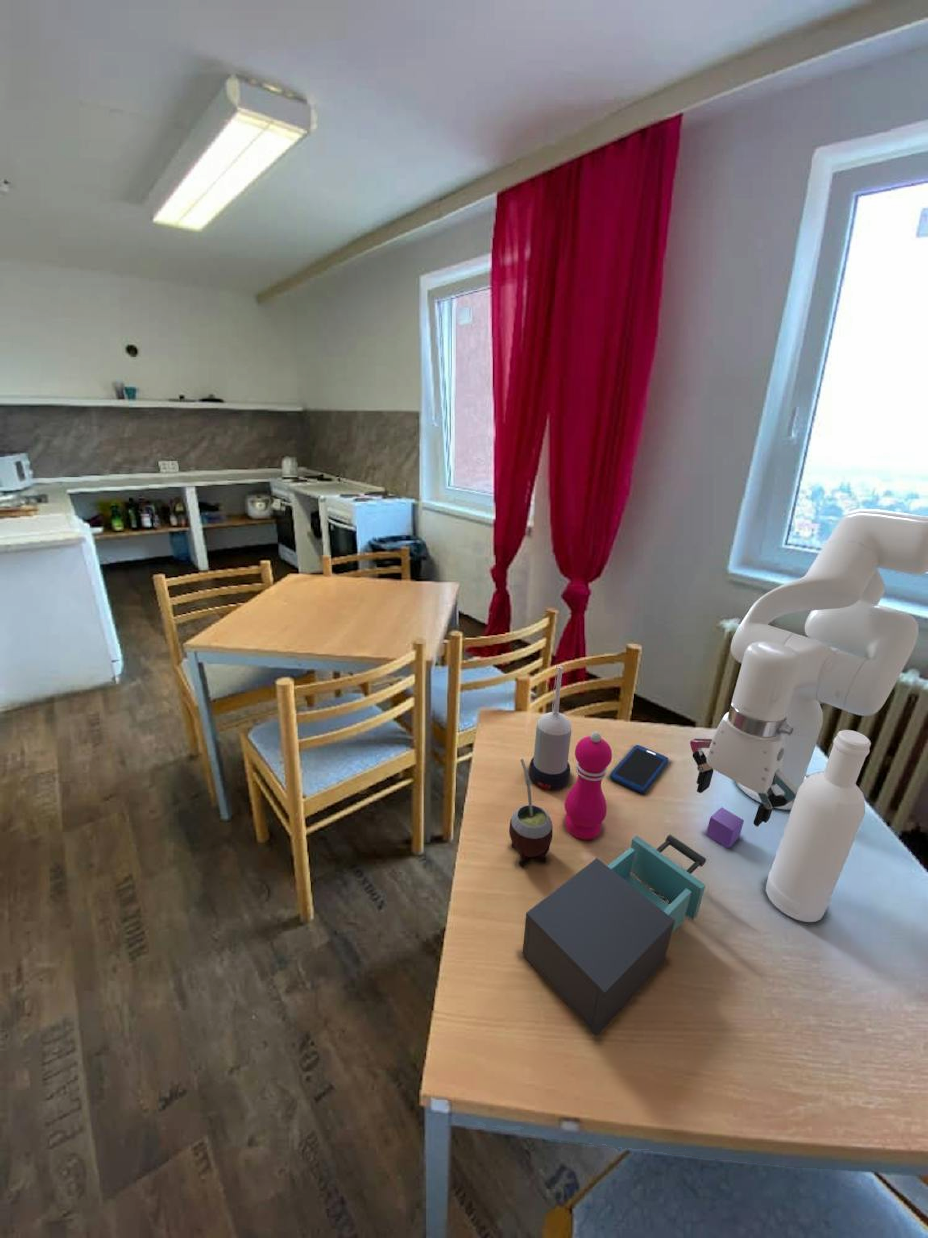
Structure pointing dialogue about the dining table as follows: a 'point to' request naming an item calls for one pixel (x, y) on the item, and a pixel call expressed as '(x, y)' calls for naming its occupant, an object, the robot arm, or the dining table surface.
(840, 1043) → the dining table surface
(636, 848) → the drawer
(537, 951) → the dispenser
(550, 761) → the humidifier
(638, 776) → the cell phone
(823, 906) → the bottle
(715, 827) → the block
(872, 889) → the dining table surface
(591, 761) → the pepper mill
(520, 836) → the mate gourd
